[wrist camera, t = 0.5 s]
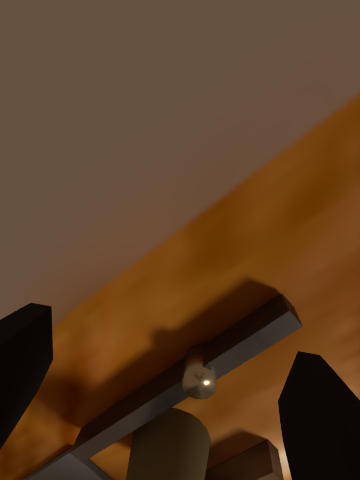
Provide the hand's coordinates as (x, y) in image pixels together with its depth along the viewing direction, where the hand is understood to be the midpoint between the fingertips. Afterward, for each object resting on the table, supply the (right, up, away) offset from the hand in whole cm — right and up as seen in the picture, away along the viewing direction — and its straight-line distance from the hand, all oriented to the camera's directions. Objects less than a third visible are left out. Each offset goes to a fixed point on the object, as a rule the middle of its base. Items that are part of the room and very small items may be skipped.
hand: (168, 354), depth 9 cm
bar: (0, -6, +12) cm, 14 cm away
